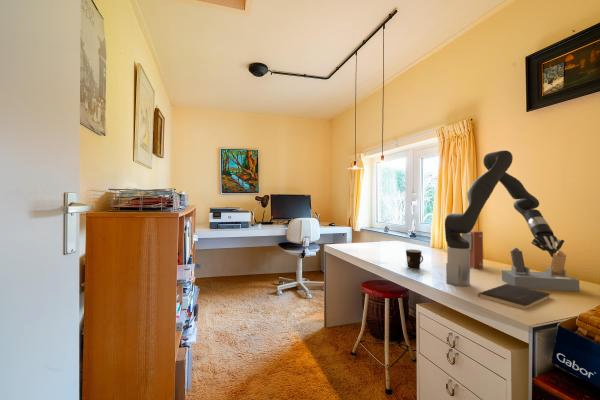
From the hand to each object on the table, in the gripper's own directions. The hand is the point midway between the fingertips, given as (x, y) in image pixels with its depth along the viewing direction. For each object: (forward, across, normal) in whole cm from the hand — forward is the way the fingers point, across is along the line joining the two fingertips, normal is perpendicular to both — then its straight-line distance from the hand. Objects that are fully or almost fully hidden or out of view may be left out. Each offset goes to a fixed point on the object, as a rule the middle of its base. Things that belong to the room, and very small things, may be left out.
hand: (556, 257), depth 124 cm
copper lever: (+6, 0, +6) cm, 8 cm away
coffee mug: (-6, -57, +25) cm, 63 cm away
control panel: (-16, -23, +35) cm, 44 cm away
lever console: (+9, -7, +10) cm, 15 cm away
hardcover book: (+24, -26, -4) cm, 35 cm away
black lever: (+6, -14, +6) cm, 16 cm away
